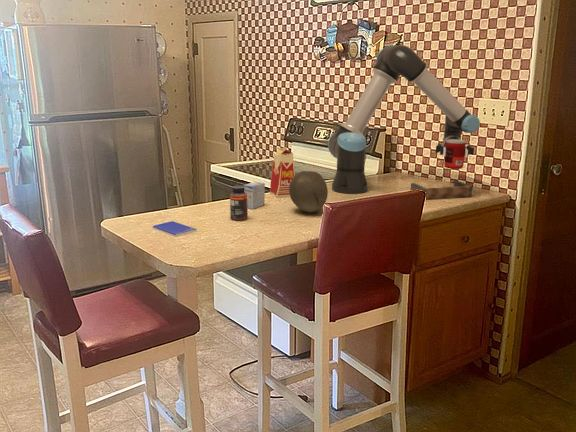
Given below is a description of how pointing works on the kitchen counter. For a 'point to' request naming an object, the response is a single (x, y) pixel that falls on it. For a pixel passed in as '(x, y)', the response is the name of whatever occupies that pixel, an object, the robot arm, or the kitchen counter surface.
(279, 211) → the kitchen counter surface
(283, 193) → the milk carton
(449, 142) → the canned food
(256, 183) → the medicine box
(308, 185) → the dark grey round ball
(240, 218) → the supplement bottle
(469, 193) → the rail board
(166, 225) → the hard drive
